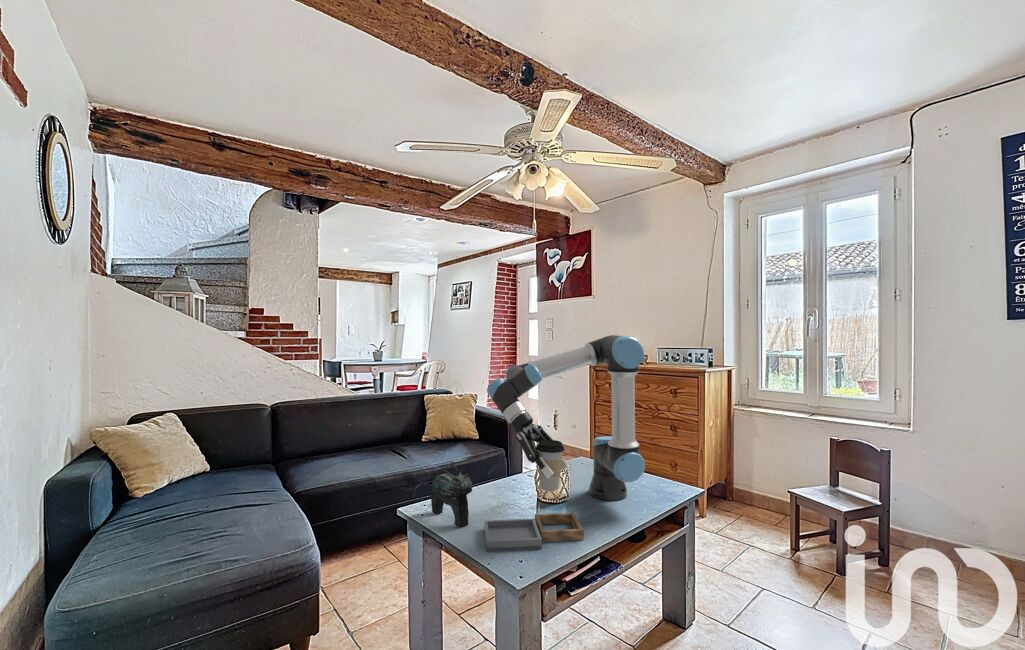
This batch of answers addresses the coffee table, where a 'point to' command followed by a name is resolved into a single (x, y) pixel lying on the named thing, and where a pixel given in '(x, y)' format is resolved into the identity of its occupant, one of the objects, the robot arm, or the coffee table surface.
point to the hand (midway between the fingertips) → (558, 471)
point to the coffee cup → (550, 462)
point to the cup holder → (559, 534)
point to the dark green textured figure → (452, 495)
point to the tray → (512, 535)
